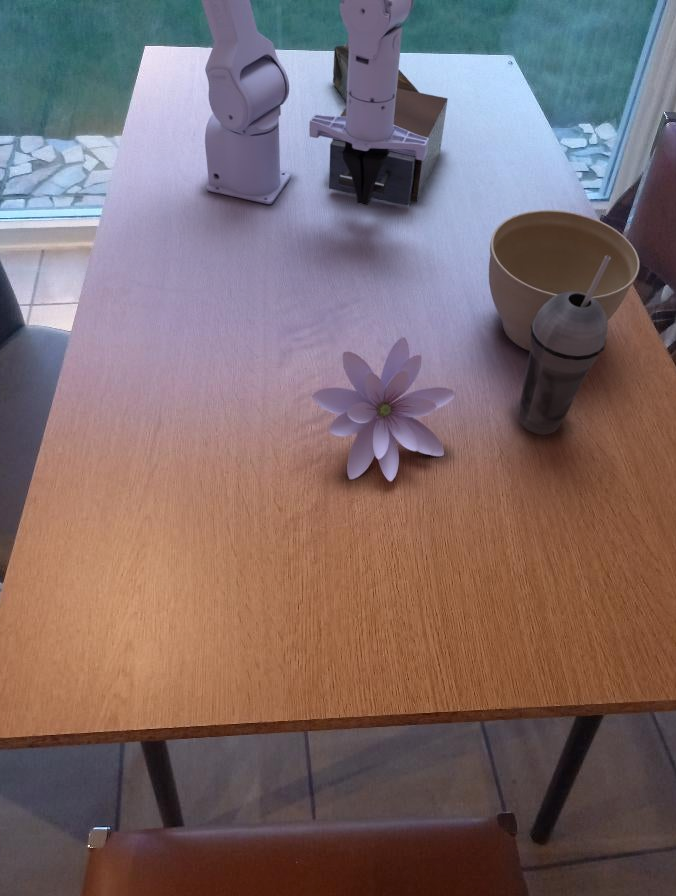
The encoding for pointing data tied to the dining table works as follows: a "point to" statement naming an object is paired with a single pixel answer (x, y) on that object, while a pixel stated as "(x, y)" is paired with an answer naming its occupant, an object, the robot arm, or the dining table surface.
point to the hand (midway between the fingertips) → (364, 200)
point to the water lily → (383, 411)
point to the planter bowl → (555, 265)
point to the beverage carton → (342, 72)
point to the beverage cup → (561, 355)
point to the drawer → (390, 180)
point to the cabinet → (420, 129)
